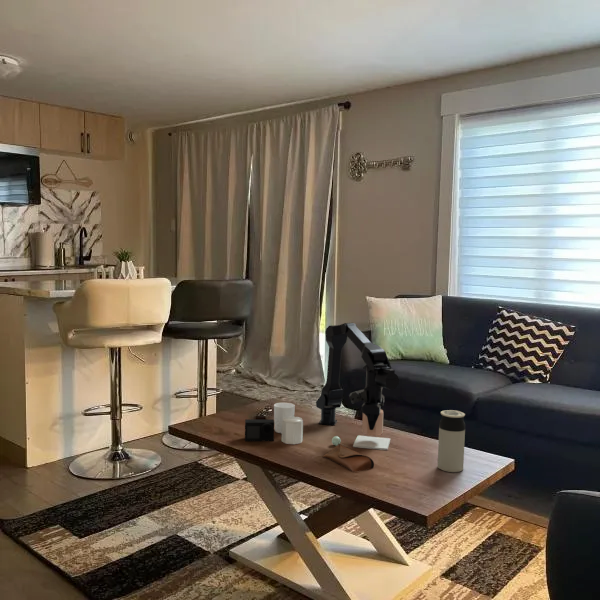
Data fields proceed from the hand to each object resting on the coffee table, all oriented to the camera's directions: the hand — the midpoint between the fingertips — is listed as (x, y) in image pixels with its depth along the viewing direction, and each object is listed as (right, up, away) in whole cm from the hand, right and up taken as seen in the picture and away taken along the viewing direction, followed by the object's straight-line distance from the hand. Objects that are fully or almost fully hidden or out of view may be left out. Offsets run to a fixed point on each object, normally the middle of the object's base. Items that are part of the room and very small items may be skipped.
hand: (372, 426), depth 217 cm
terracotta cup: (0, -2, 0) cm, 2 cm away
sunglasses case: (-11, -8, -19) cm, 24 cm away
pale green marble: (-13, -6, -3) cm, 15 cm away
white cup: (-32, -4, +13) cm, 35 cm away
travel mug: (+22, -9, -23) cm, 33 cm away
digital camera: (-41, -5, +1) cm, 41 cm away
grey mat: (0, -6, 0) cm, 6 cm away
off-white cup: (-29, -5, +1) cm, 29 cm away
